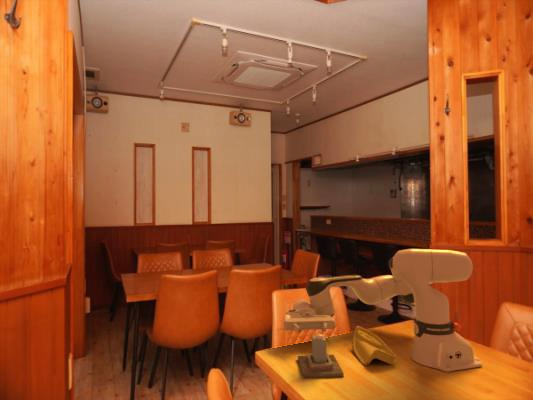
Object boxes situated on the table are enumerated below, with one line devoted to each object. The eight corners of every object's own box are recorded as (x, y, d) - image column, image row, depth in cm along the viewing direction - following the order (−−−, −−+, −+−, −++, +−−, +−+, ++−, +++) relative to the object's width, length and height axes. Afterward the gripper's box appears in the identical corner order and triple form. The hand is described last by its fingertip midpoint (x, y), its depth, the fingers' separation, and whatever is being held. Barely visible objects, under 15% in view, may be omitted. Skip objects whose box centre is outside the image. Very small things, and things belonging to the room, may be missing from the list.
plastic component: (398, 358, 125) (373, 347, 124) (389, 377, 125) (364, 367, 124) (375, 333, 145) (354, 323, 143) (367, 350, 145) (345, 340, 144)
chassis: (333, 358, 131) (333, 349, 131) (343, 376, 117) (343, 367, 117) (297, 359, 130) (297, 350, 130) (303, 378, 116) (303, 368, 116)
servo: (323, 360, 126) (323, 331, 126) (326, 367, 121) (326, 336, 122) (312, 360, 126) (311, 331, 126) (314, 367, 121) (314, 336, 121)
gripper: (331, 324, 151) (339, 337, 137) (282, 326, 150) (285, 339, 136) (330, 309, 151) (339, 320, 137) (281, 311, 150) (285, 322, 136)
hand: (312, 329), depth 137 cm, fingers open, 8 cm apart
